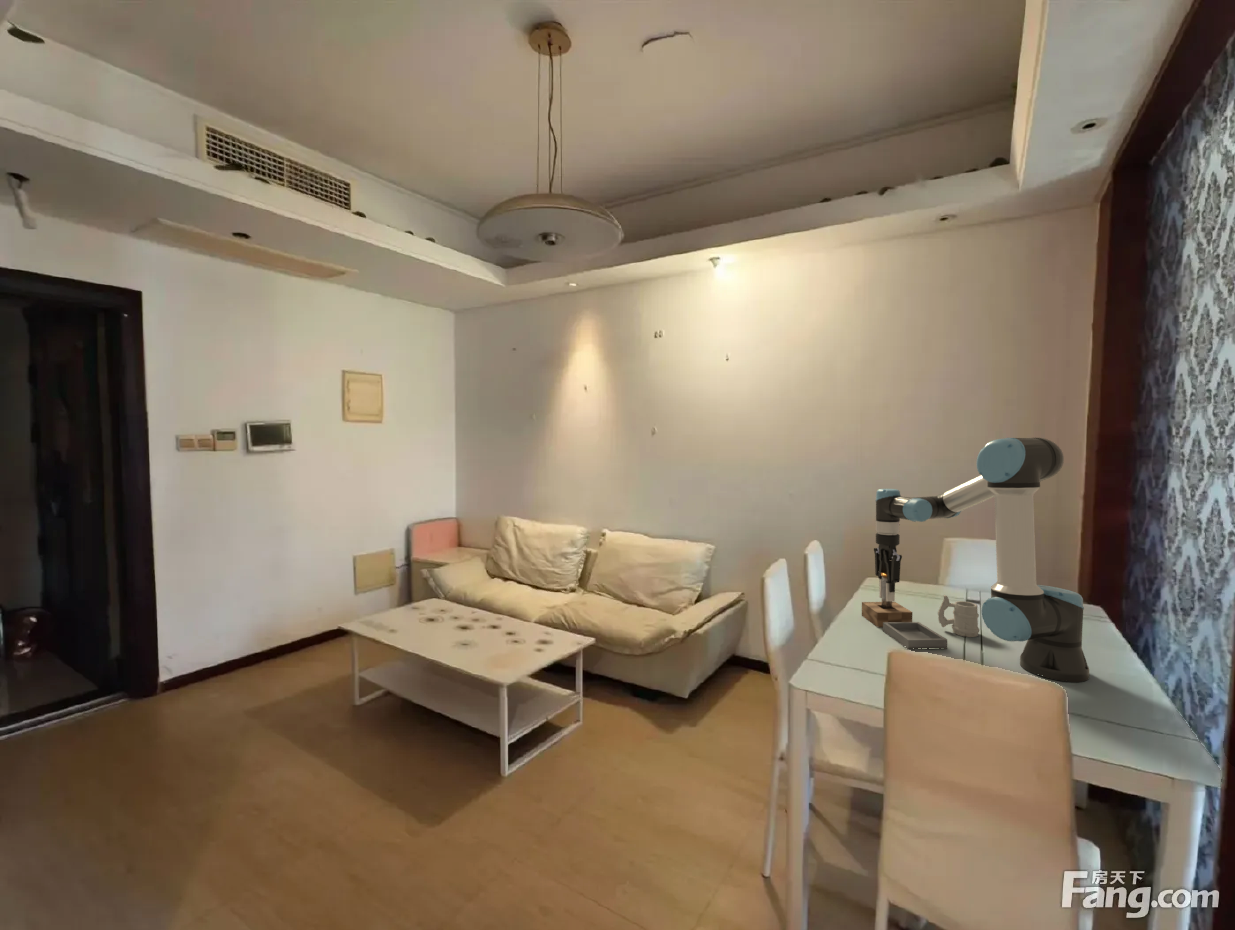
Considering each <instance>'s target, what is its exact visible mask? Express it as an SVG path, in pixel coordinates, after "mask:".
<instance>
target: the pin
mask: <svg viewBox="0 0 1235 930" xmlns="http://www.w3.org/2000/svg"><path fill="white" fill-rule="evenodd" d="M881 576H882V598H881V602H882V609H892V602H893V601H886V581H888V578H887V572H882V573H881Z"/></svg>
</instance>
